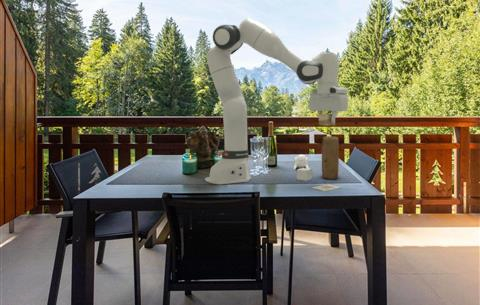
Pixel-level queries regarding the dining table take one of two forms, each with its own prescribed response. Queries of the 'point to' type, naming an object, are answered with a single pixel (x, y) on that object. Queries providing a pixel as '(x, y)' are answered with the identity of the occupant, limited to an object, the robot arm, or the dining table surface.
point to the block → (330, 157)
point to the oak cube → (325, 119)
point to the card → (326, 187)
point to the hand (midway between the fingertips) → (326, 121)
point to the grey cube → (304, 174)
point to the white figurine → (300, 162)
